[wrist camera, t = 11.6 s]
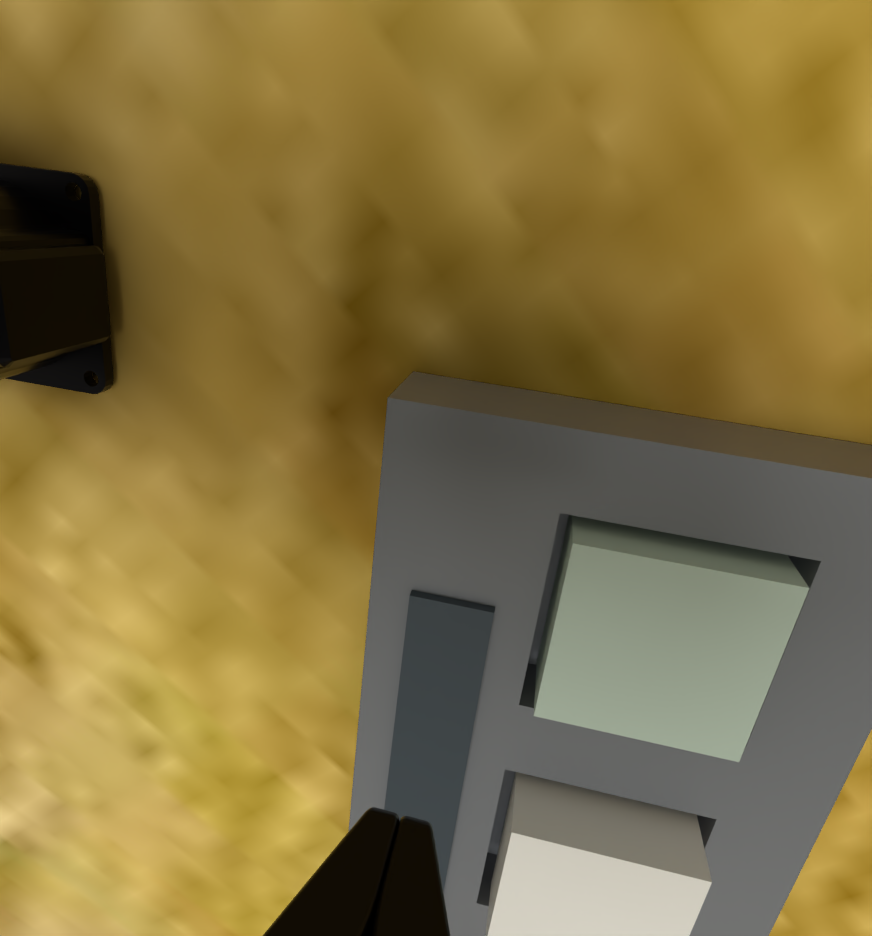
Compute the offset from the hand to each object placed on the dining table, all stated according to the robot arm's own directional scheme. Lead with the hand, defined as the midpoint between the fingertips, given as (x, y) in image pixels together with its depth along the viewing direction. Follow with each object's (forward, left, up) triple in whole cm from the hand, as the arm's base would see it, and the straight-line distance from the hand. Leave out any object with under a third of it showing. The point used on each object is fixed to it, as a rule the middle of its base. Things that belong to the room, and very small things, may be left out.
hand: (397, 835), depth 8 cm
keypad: (+4, -12, -12) cm, 18 cm away
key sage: (+5, -3, -11) cm, 12 cm away
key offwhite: (+5, -12, -10) cm, 16 cm away
